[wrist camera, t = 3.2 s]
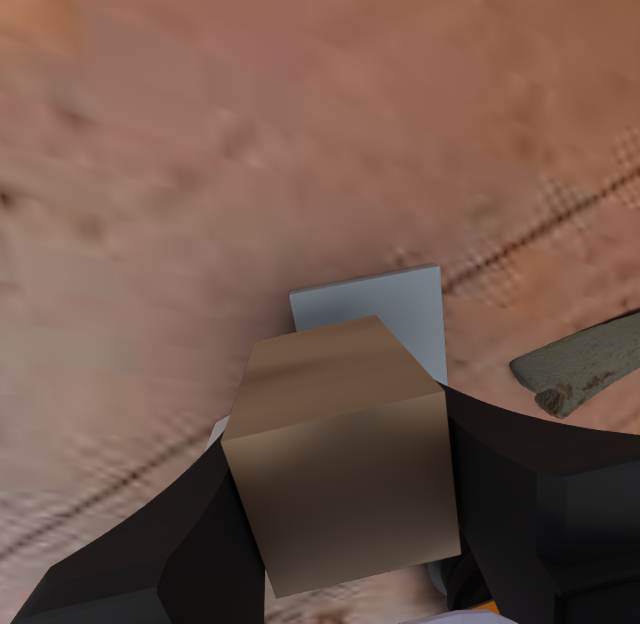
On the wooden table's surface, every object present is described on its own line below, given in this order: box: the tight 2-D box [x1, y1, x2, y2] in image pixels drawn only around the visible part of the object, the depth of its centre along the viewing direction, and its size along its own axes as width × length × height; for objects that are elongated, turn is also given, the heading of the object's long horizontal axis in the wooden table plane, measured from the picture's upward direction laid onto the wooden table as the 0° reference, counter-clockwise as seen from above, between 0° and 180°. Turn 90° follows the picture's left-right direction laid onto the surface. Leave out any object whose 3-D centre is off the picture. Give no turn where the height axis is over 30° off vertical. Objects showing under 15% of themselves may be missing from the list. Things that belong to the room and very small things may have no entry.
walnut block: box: [221, 315, 461, 599], centre depth 10 cm, size 5×5×6 cm
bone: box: [510, 312, 640, 419], centre depth 20 cm, size 13×5×4 cm, turn 114°
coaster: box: [289, 264, 448, 386], centre depth 20 cm, size 9×9×1 cm
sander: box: [426, 523, 500, 615], centre depth 20 cm, size 15×25×13 cm, turn 112°
